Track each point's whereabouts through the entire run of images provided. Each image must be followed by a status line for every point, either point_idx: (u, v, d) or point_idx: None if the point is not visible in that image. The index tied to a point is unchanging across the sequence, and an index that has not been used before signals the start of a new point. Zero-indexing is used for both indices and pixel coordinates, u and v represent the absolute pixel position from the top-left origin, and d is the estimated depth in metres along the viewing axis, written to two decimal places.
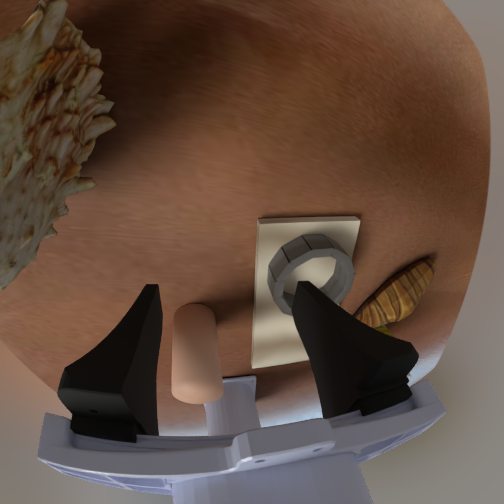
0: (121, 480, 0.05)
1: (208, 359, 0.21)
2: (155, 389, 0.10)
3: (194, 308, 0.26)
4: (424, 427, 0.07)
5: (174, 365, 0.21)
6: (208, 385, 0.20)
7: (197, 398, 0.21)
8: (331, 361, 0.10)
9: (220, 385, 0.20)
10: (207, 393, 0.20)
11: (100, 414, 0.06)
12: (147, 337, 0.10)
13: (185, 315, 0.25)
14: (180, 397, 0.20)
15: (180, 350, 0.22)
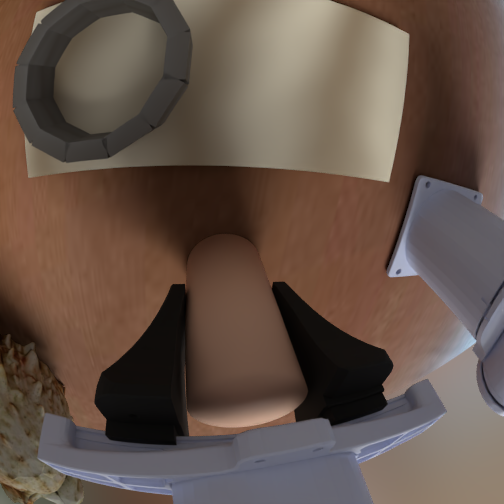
0: (121, 480, 0.05)
1: (192, 341, 0.09)
2: (184, 389, 0.10)
3: None
4: (424, 427, 0.07)
5: None
6: (216, 395, 0.08)
7: (277, 404, 0.09)
8: (302, 366, 0.10)
9: (224, 379, 0.07)
10: (257, 395, 0.08)
11: (140, 418, 0.06)
12: (179, 337, 0.10)
13: None
14: (261, 419, 0.10)
15: None
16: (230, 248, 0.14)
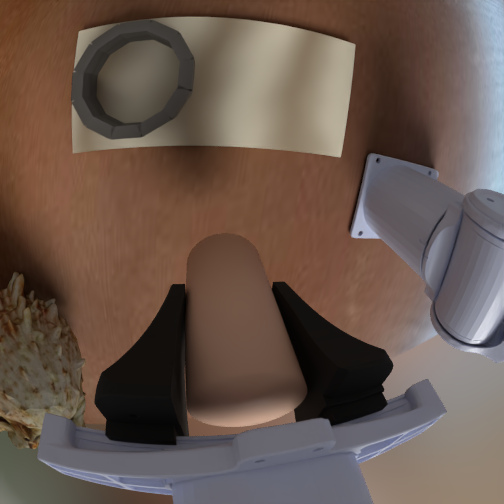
0: (121, 480, 0.05)
1: (192, 341, 0.09)
2: (184, 389, 0.10)
3: None
4: (424, 427, 0.07)
5: None
6: (216, 395, 0.08)
7: (277, 403, 0.09)
8: (301, 366, 0.10)
9: (223, 378, 0.07)
10: (257, 394, 0.08)
11: (140, 418, 0.06)
12: (179, 337, 0.10)
13: None
14: (261, 418, 0.10)
15: None
16: (230, 248, 0.14)
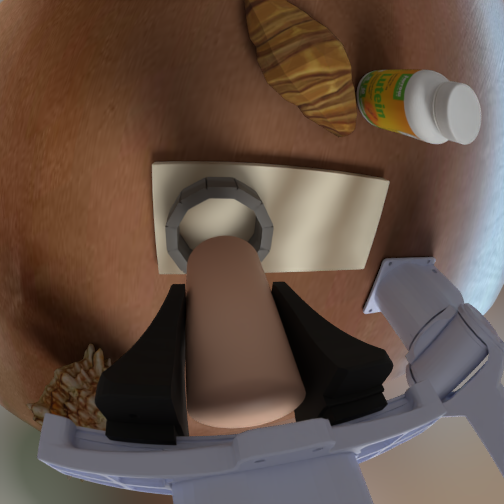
0: (121, 480, 0.05)
1: (191, 346, 0.10)
2: (184, 389, 0.10)
3: None
4: (424, 427, 0.07)
5: None
6: (215, 398, 0.08)
7: (276, 405, 0.09)
8: (302, 366, 0.10)
9: (221, 383, 0.08)
10: (255, 398, 0.08)
11: (140, 418, 0.06)
12: (179, 337, 0.10)
13: None
14: (262, 420, 0.10)
15: None
16: (228, 250, 0.14)
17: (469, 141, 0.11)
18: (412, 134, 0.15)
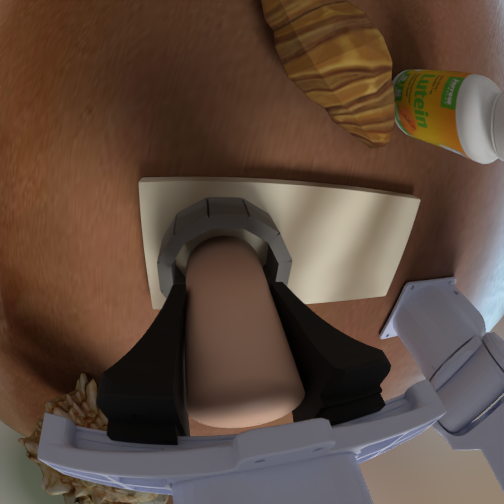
0: (121, 480, 0.05)
1: (190, 346, 0.10)
2: (185, 389, 0.10)
3: None
4: (424, 427, 0.07)
5: None
6: (214, 398, 0.08)
7: (275, 405, 0.09)
8: (299, 366, 0.10)
9: (220, 383, 0.08)
10: (254, 398, 0.08)
11: (142, 418, 0.06)
12: (180, 337, 0.10)
13: None
14: (261, 420, 0.10)
15: None
16: (227, 250, 0.14)
17: None
18: (460, 151, 0.11)
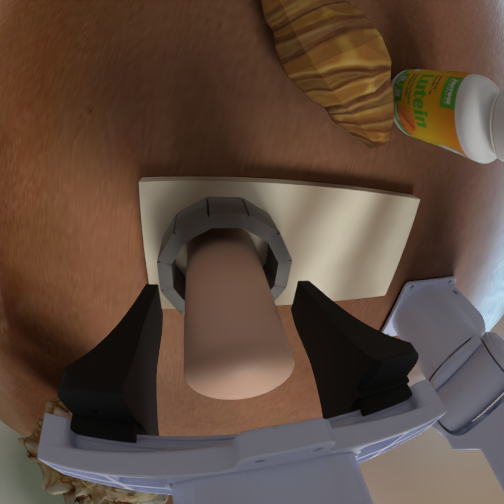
0: (121, 480, 0.05)
1: (190, 316, 0.11)
2: (155, 389, 0.10)
3: (187, 259, 0.16)
4: (424, 427, 0.07)
5: None
6: (209, 362, 0.09)
7: (267, 373, 0.10)
8: (331, 361, 0.10)
9: (215, 344, 0.09)
10: (247, 363, 0.10)
11: (100, 414, 0.06)
12: (147, 337, 0.10)
13: None
14: (254, 391, 0.11)
15: None
16: (225, 236, 0.15)
17: None
18: (459, 150, 0.11)
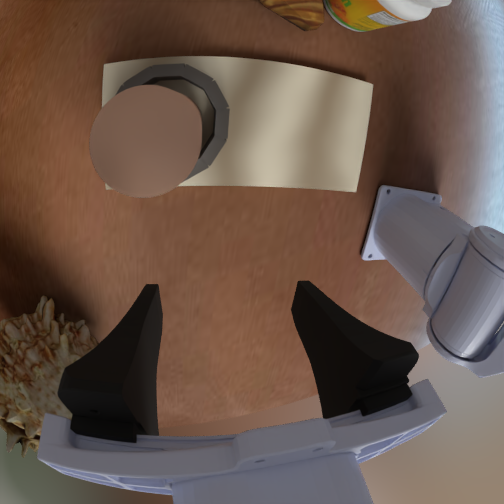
0: (121, 480, 0.05)
1: None
2: (155, 389, 0.10)
3: None
4: (424, 427, 0.07)
5: None
6: (112, 120, 0.08)
7: (171, 144, 0.09)
8: (331, 361, 0.10)
9: (118, 94, 0.08)
10: (148, 121, 0.08)
11: (100, 414, 0.06)
12: (147, 337, 0.10)
13: None
14: (162, 181, 0.10)
15: None
16: None
17: (442, 3, 0.06)
18: (381, 9, 0.09)
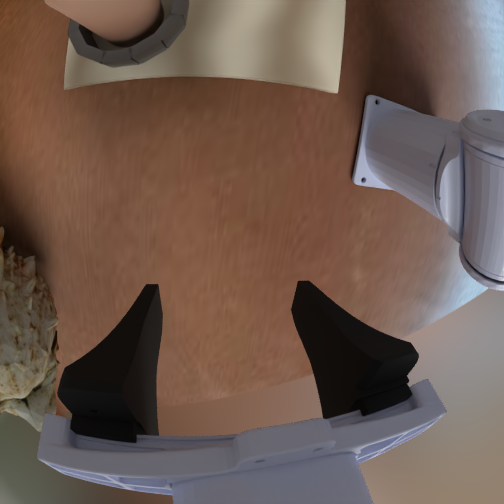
0: (121, 480, 0.05)
1: None
2: (155, 389, 0.10)
3: None
4: (424, 427, 0.07)
5: (73, 18, 0.06)
6: None
7: None
8: (331, 361, 0.10)
9: None
10: None
11: (100, 414, 0.06)
12: (147, 337, 0.10)
13: None
14: None
15: None
16: None
17: None
18: None
